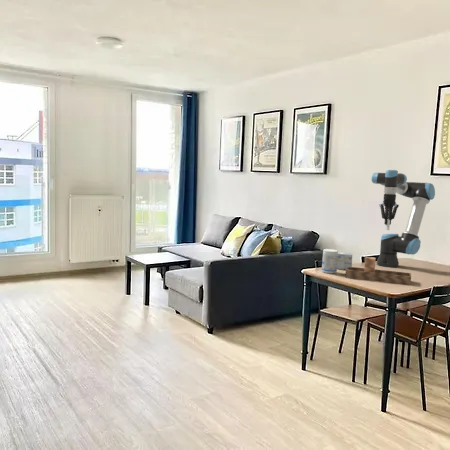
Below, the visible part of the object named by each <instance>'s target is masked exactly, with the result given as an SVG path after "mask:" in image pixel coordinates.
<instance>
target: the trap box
mask: <svg viewBox="0 0 450 450" xmlns="http://www.w3.org/2000/svg"><path fill="white" fill-rule="evenodd" d="M345 278H346V279H353V280H354V279H355V280H364V281H372V282H380V283H381V282H382V283H388V284H389V283H390V284H399V285H406V286H407V285H408V286H411V283H412V282H411V281H412V273H411V272H403V271H395V270H383V269H376V268H375V273H374V272H365V271H364V267H357V266H352V267H348V268H347V269H346V270H345Z"/></svg>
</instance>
